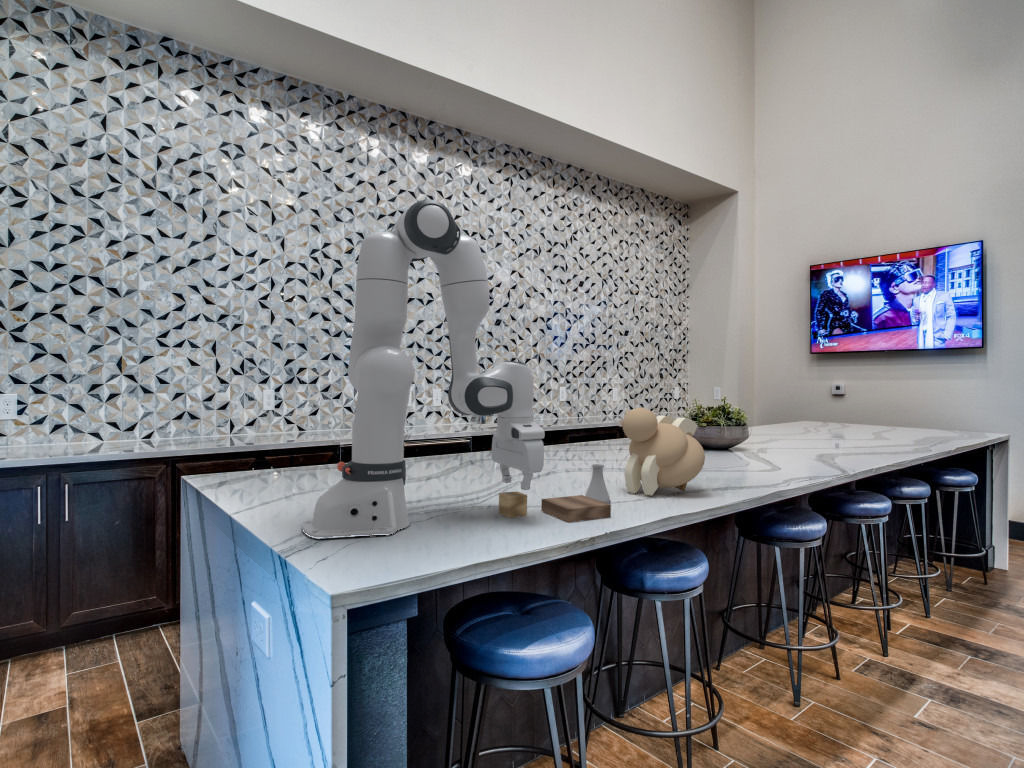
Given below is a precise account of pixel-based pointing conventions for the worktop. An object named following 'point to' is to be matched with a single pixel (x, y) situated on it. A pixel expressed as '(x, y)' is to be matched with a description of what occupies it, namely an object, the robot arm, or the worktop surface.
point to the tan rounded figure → (660, 451)
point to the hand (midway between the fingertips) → (515, 486)
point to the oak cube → (513, 504)
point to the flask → (598, 485)
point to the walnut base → (576, 508)
